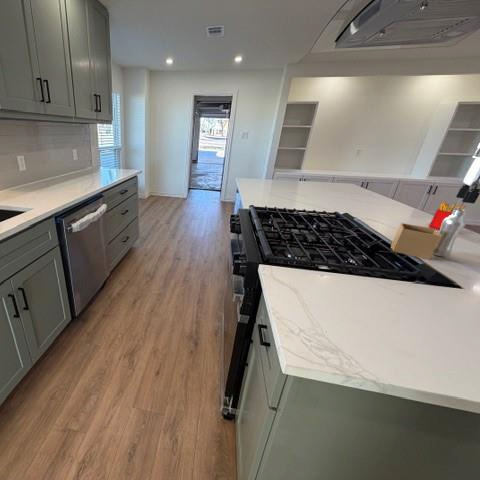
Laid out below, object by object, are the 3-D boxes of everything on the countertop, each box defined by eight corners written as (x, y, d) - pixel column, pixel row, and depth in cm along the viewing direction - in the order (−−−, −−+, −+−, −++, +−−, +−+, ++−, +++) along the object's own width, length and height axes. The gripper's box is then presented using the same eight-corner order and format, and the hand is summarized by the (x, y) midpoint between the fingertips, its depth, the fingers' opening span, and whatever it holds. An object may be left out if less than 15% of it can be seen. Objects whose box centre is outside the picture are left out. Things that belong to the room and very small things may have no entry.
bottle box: (423, 254, 109) (436, 229, 104) (427, 262, 101) (441, 236, 97) (390, 246, 115) (400, 222, 110) (391, 254, 108) (402, 228, 103)
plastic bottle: (425, 254, 109) (448, 209, 101) (427, 250, 113) (449, 206, 105) (447, 259, 104) (472, 213, 96) (448, 255, 108) (472, 210, 100)
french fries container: (430, 225, 146) (442, 201, 140) (453, 230, 139) (466, 205, 133) (428, 227, 142) (440, 203, 136) (451, 232, 135) (465, 207, 130)
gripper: (515, 157, 84) (485, 206, 91) (496, 154, 96) (472, 198, 103) (481, 154, 88) (455, 202, 95) (468, 152, 101) (446, 194, 108)
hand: (464, 200), depth 99 cm, fingers open, 9 cm apart
